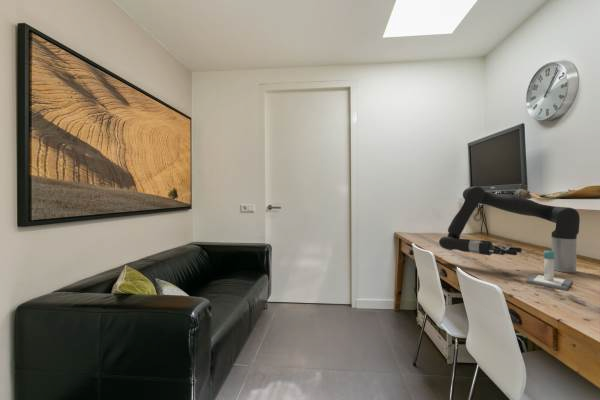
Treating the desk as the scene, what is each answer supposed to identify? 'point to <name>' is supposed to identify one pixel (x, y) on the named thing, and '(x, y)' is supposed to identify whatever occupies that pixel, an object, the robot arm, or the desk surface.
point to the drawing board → (549, 282)
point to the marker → (549, 265)
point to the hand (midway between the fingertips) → (519, 251)
